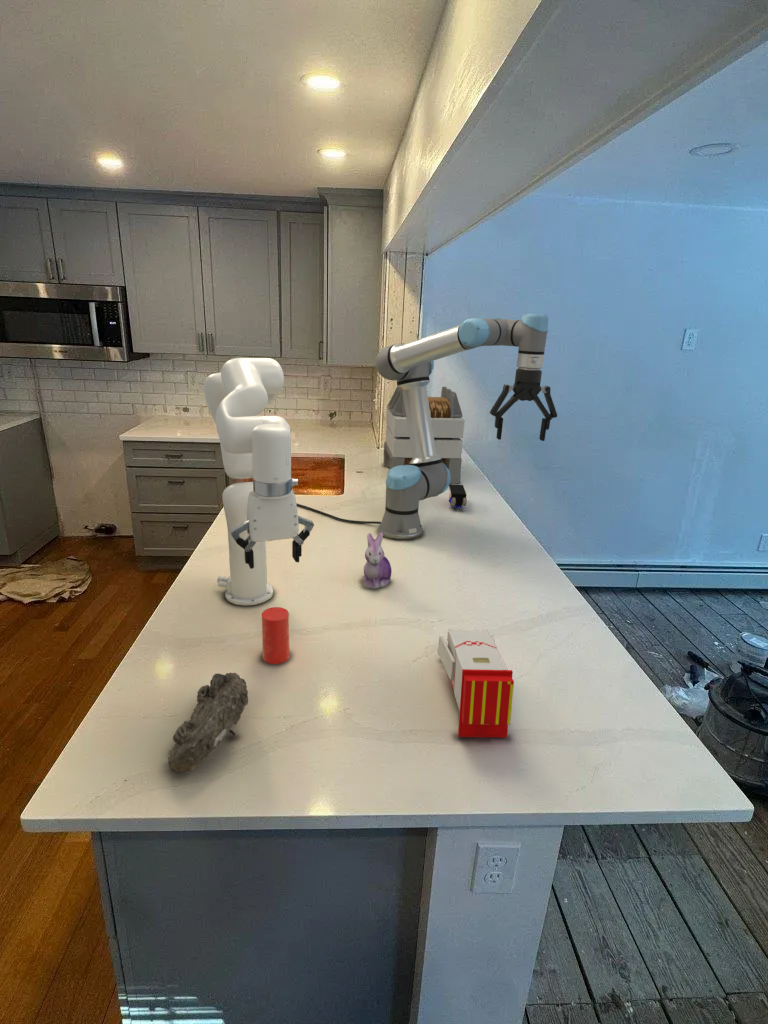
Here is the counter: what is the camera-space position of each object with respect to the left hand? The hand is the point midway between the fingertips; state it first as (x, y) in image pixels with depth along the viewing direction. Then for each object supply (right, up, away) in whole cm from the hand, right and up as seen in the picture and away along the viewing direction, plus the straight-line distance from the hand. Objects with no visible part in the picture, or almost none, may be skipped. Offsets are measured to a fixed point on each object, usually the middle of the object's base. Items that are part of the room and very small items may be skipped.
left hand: (273, 562), depth 120 cm
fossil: (-8, -30, -16) cm, 35 cm away
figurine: (+21, -10, +44) cm, 50 cm away
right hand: (+65, +33, +55) cm, 92 cm away
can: (-1, -22, +7) cm, 23 cm away
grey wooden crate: (+41, +30, +155) cm, 163 cm away
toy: (+41, -27, -2) cm, 49 cm away
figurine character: (+53, +13, +111) cm, 123 cm away
